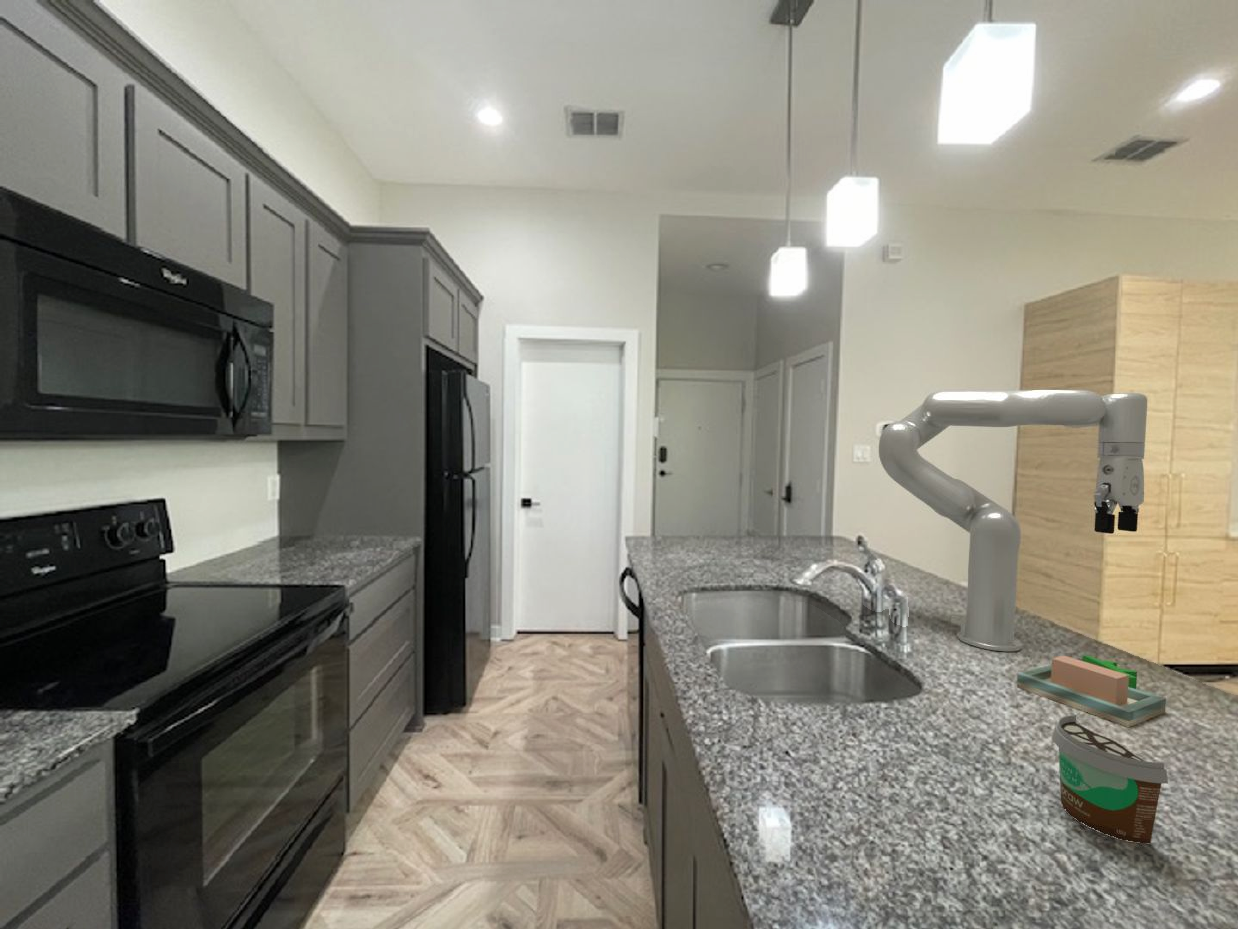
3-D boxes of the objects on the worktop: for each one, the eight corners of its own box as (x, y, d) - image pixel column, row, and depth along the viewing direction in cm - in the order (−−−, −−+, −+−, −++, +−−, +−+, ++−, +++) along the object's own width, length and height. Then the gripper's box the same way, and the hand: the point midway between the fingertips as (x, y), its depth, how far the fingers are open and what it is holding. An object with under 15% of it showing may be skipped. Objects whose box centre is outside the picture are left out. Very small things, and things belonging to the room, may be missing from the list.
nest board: (1016, 686, 108) (1017, 673, 108) (1054, 676, 114) (1055, 663, 114) (1128, 727, 93) (1129, 712, 93) (1165, 712, 99) (1165, 698, 99)
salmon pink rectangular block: (1115, 707, 98) (1117, 678, 98) (1050, 684, 107) (1052, 658, 107) (1127, 703, 100) (1128, 675, 100) (1062, 681, 109) (1063, 655, 109)
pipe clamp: (1150, 703, 103) (1151, 678, 103) (1128, 702, 103) (1130, 677, 103) (1100, 677, 114) (1101, 655, 114) (1081, 676, 115) (1082, 654, 114)
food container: (1024, 788, 75) (1028, 713, 75) (1067, 787, 76) (1071, 713, 75) (1112, 855, 63) (1118, 766, 63) (1163, 853, 63) (1169, 765, 63)
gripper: (1122, 451, 114) (1117, 536, 114) (1162, 452, 122) (1157, 532, 122) (1078, 450, 121) (1073, 530, 121) (1119, 452, 128) (1114, 527, 129)
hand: (1115, 531), depth 122 cm, fingers open, 9 cm apart
